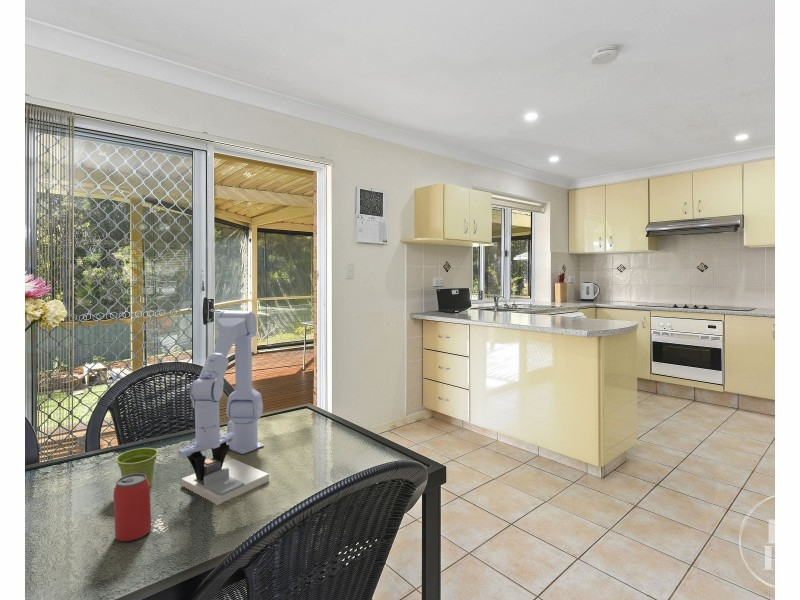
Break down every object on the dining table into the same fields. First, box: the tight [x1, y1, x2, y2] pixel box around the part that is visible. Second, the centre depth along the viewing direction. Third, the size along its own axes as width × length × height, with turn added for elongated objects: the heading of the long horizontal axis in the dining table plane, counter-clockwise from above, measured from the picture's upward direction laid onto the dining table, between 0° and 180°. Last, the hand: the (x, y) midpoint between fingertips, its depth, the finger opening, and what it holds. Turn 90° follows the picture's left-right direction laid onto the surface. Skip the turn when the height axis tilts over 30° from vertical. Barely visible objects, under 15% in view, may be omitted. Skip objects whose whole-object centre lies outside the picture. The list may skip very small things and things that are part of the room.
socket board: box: [181, 458, 270, 506], centre depth 117 cm, size 16×15×2 cm
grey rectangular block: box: [198, 456, 221, 486], centre depth 115 cm, size 4×4×6 cm
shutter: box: [204, 467, 244, 496], centre depth 111 cm, size 7×6×3 cm
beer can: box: [113, 473, 152, 543], centre depth 95 cm, size 7×7×12 cm
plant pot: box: [115, 447, 159, 488], centre depth 114 cm, size 9×9×9 cm
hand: (208, 476), depth 115 cm, fingers open, 4 cm apart
